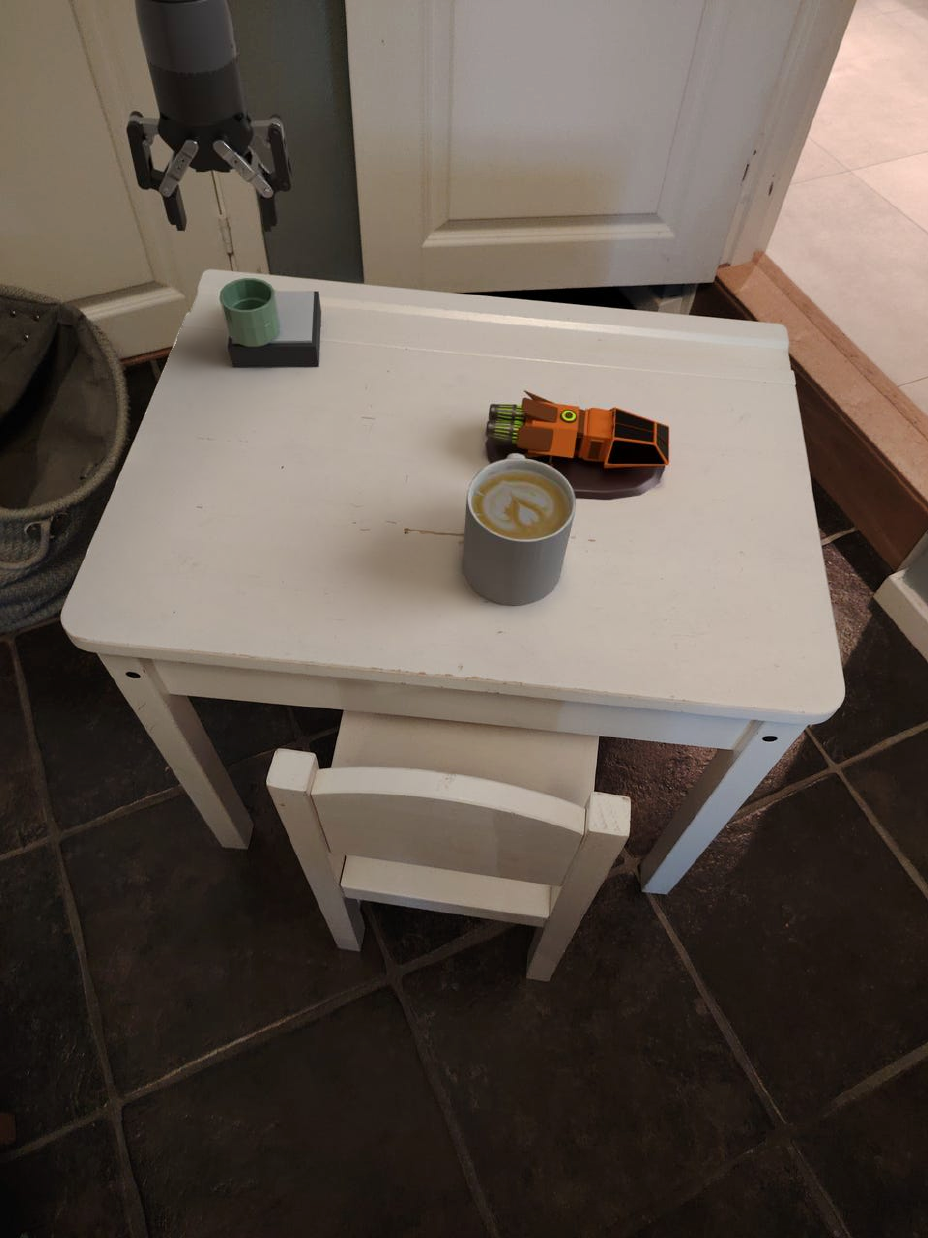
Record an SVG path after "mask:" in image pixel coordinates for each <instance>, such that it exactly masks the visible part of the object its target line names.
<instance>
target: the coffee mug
mask: <svg viewBox="0 0 928 1238" xmlns="http://www.w3.org/2000/svg"><path fill="white" fill-rule="evenodd" d="M466 492H467V493H466V500H465V514H464V529H463V531H464V532H463V545H462V558H461V560H462V561H461V566H462V571H463V572H462V573H463V575H464V577H465V579H466V581H467V582H468V585H470V587H471V588H472V589H473V591H475V592H476V593H478V595H480V596H482V597H484V598H485V599H487V600H489V601H492V602H494V603H497V604H500V605H507V606H524V605H528V604H532V603H535V602H538V601H540V600H541V599H544V598H545V597H547V596H548V595H549V594H550V593H551V592H552V591H553V590H554V588H555V587H556V586H557V585H558V582H559V580H560V577H561V574H562V569H563V565H564V562H565V561H564V560H565V557H566V553H567V548H568V544H569V540H570V535H571V532H572V527H573V523H574V519H575V515H576V509H577V498H576V497H575V494H574V491H573V488H572V487H571V485H570V483H569V482H568V480H567V479H566V478H565V477H564V476H563V475H562V474H561V473H560V472H558V471H557V470H556V469H554V468H552V467H550V466H549V465H547V464H544V463H542V462H538V461H535V460H530V459H525V457H524V456H523V455H521V454H517V453H512V454H510V455H508V457H507V458H506V459H505V460H501V461H497V462H495V463H492V464H491V463H490V464H488V465H486V466H485V467H482V468H481V470H479V471H478V472H477V473H476V474H475V475H474V476H473V478H472V479H471V481H470V482H469V485H468V488H467V491H466Z"/></svg>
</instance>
